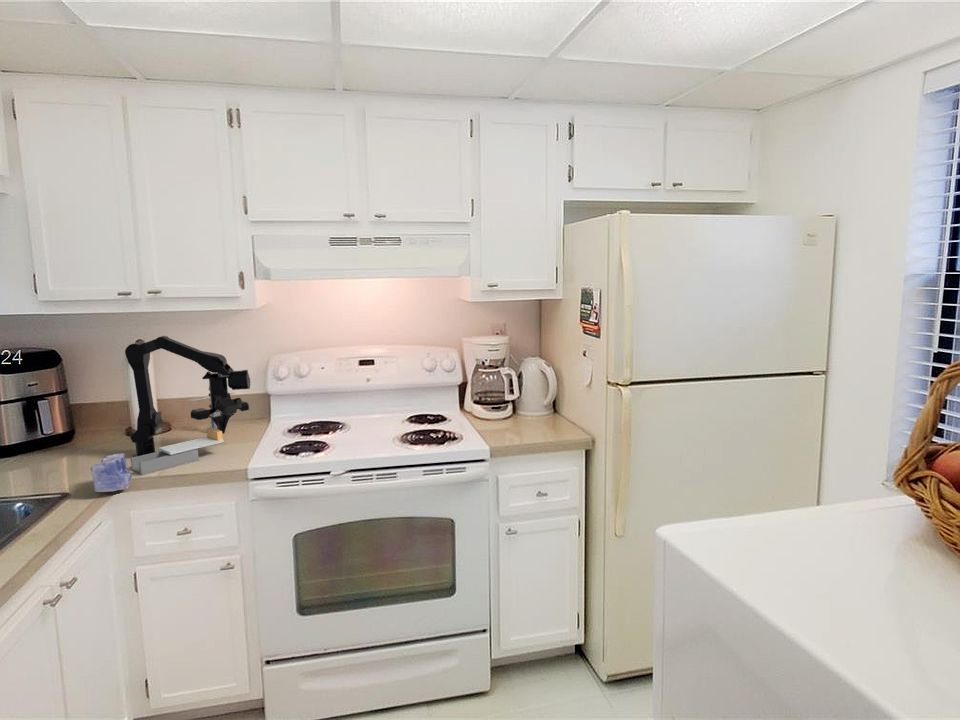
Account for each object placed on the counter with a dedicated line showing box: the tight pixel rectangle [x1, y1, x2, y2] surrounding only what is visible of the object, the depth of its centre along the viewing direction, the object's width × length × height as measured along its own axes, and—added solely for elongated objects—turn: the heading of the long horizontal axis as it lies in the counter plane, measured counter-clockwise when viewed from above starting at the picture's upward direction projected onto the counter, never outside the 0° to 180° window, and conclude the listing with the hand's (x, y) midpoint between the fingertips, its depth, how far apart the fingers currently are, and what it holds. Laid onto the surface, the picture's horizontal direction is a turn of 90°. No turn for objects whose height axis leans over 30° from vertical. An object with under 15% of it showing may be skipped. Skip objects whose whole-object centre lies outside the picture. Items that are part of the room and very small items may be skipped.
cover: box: [158, 427, 225, 455], centre depth 202 cm, size 9×18×4 cm, turn 140°
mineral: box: [90, 453, 133, 493], centre depth 175 cm, size 14×10×10 cm, turn 24°
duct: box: [130, 448, 200, 476], centre depth 196 cm, size 8×18×4 cm, turn 140°
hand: (222, 433), depth 210 cm, fingers closed
